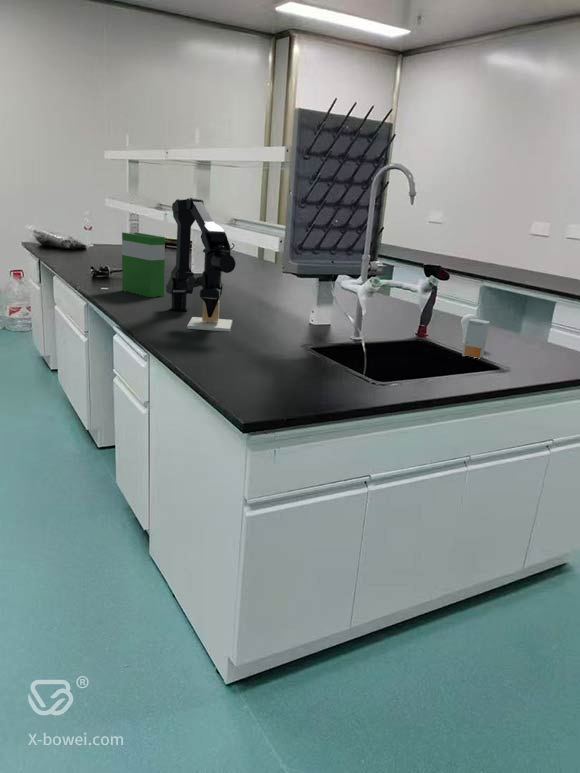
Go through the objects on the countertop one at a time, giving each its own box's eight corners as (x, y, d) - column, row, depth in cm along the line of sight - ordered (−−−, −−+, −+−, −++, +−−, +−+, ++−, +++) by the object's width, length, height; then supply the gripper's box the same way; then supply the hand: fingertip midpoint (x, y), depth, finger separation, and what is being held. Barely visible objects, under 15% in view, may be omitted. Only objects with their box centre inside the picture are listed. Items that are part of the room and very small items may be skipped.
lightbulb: (465, 347, 204) (471, 316, 200) (453, 343, 209) (458, 312, 205) (478, 347, 206) (484, 316, 203) (466, 342, 211) (471, 312, 208)
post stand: (192, 319, 209) (193, 297, 207) (232, 322, 210) (233, 300, 208) (187, 328, 196) (188, 304, 194) (229, 331, 197) (231, 307, 195)
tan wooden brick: (203, 317, 205) (204, 298, 203) (218, 318, 205) (219, 299, 203) (202, 320, 200) (203, 301, 198) (217, 321, 200) (218, 302, 198)
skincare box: (461, 356, 192) (468, 319, 188) (464, 353, 195) (471, 318, 192) (480, 360, 189) (487, 323, 185) (483, 357, 193) (490, 321, 189)
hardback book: (122, 290, 252) (122, 232, 244) (136, 289, 257) (136, 232, 250) (149, 297, 242) (150, 237, 235) (163, 296, 248) (164, 237, 240)
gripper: (191, 263, 206) (190, 307, 210) (184, 269, 188) (183, 318, 193) (224, 265, 206) (222, 310, 211) (220, 272, 189) (217, 321, 193)
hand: (210, 314), depth 202 cm, fingers open, 9 cm apart
